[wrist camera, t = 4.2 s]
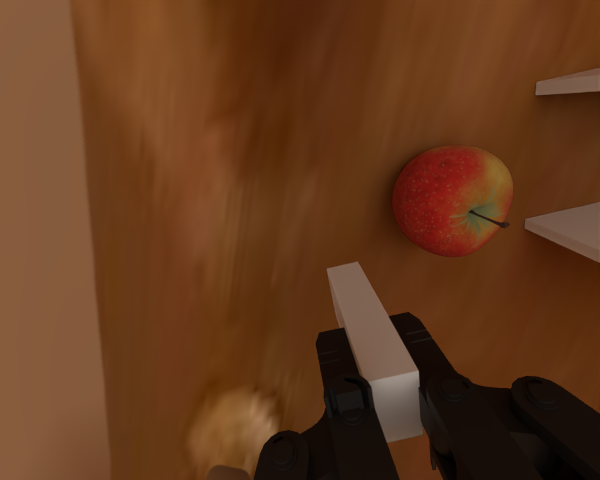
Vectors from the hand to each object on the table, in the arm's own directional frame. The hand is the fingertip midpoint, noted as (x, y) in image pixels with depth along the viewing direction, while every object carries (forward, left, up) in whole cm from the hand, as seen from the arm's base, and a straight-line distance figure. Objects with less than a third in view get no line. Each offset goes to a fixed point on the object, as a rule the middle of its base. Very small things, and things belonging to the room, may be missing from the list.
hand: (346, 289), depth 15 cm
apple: (+10, 0, -14) cm, 17 cm away
